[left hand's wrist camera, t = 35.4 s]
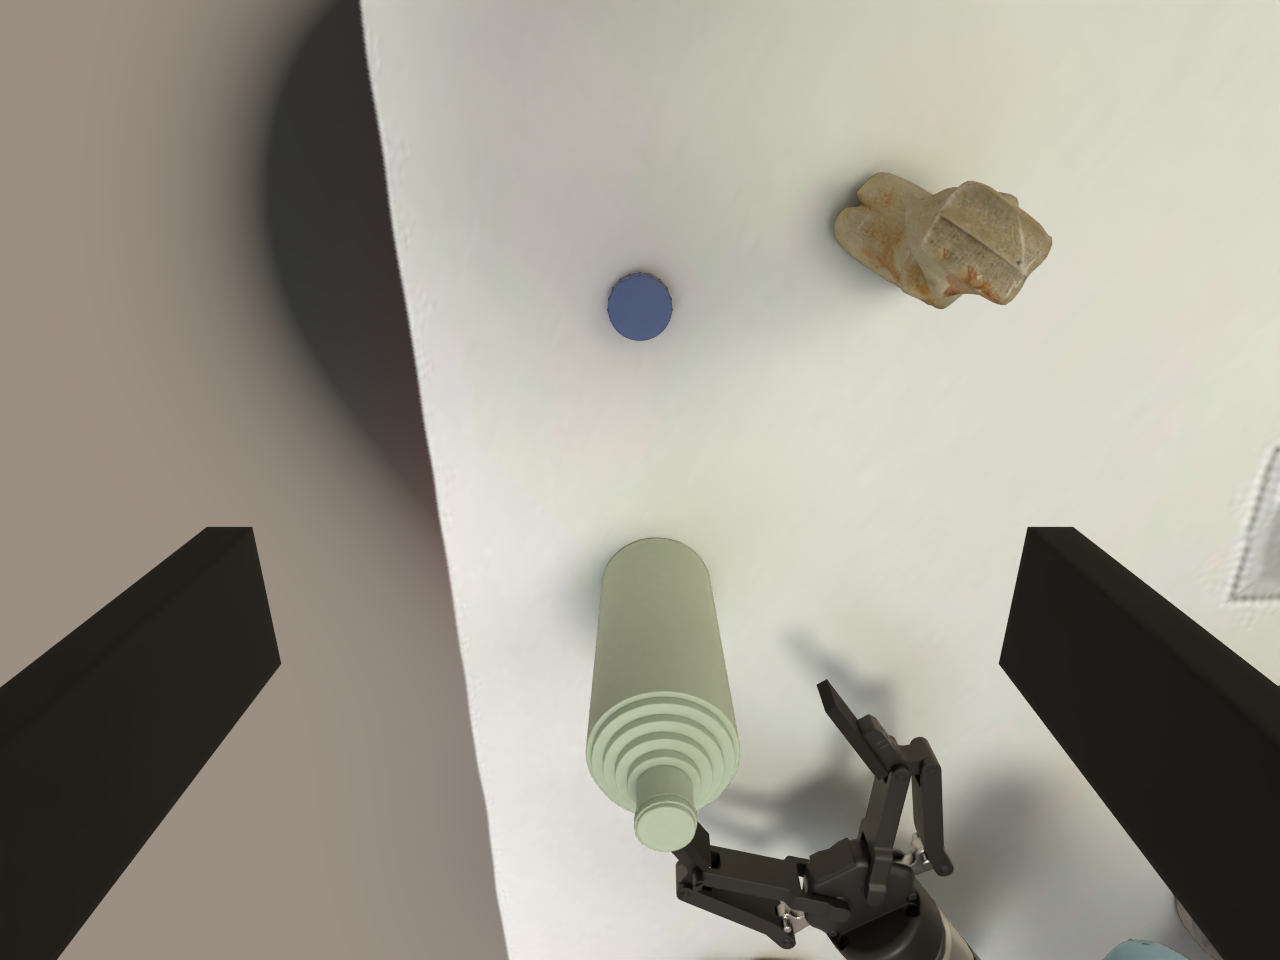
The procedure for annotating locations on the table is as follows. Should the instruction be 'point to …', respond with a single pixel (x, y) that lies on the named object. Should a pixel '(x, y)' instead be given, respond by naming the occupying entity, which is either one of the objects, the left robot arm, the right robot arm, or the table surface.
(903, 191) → the sculpture
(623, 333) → the cap
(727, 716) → the bottle
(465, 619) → the table surface
